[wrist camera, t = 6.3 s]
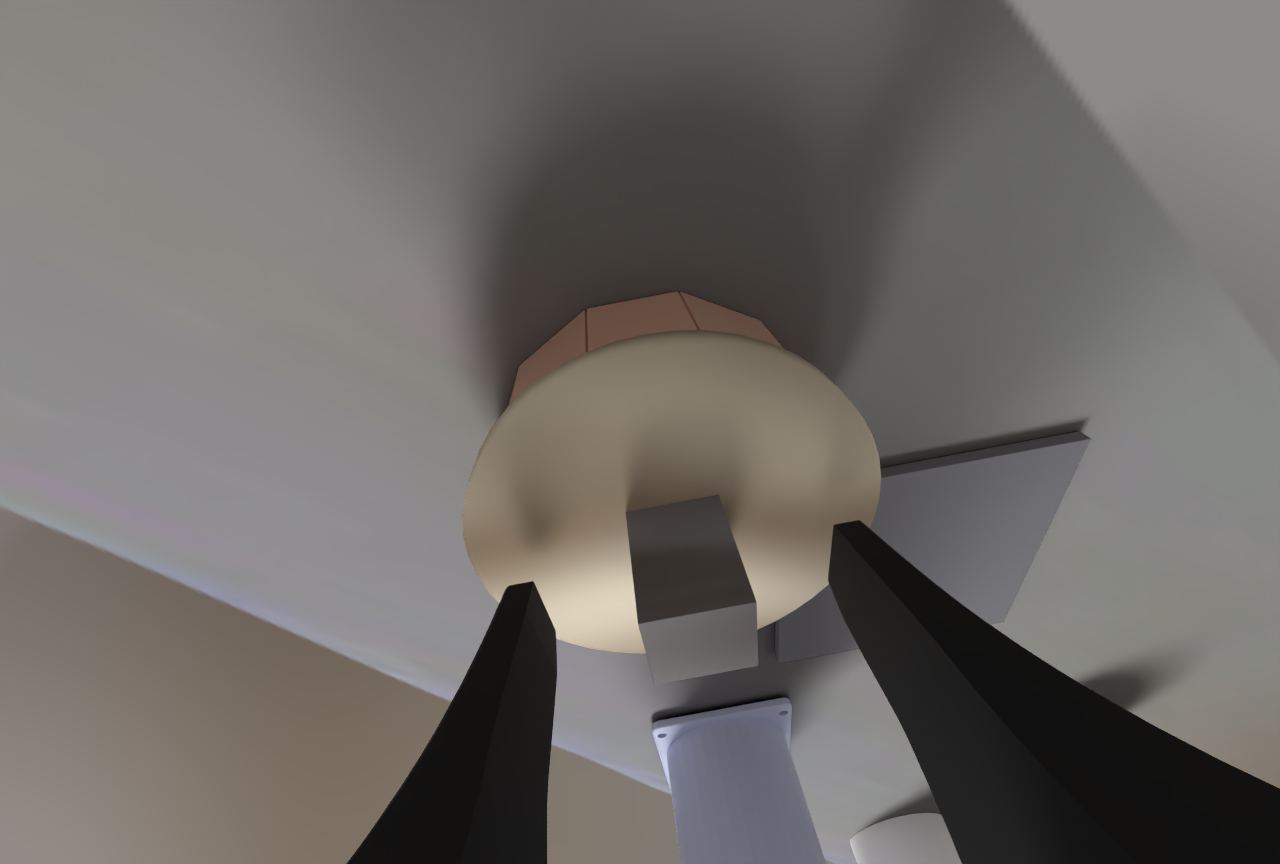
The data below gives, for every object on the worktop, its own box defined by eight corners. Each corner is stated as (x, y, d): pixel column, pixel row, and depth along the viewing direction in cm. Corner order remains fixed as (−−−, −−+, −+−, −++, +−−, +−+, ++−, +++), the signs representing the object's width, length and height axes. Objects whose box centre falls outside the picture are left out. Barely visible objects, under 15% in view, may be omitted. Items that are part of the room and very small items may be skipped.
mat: (996, 613, 25) (1003, 621, 24) (775, 654, 25) (778, 663, 24) (1079, 431, 18) (1090, 438, 18) (776, 488, 18) (781, 496, 18)
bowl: (796, 517, 19) (834, 590, 16) (550, 563, 19) (545, 644, 16) (806, 266, 13) (867, 310, 11) (457, 333, 14) (424, 394, 11)
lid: (847, 597, 17) (913, 719, 13) (535, 656, 17) (524, 791, 13) (893, 286, 10) (1039, 371, 7) (393, 381, 10) (307, 509, 7)
